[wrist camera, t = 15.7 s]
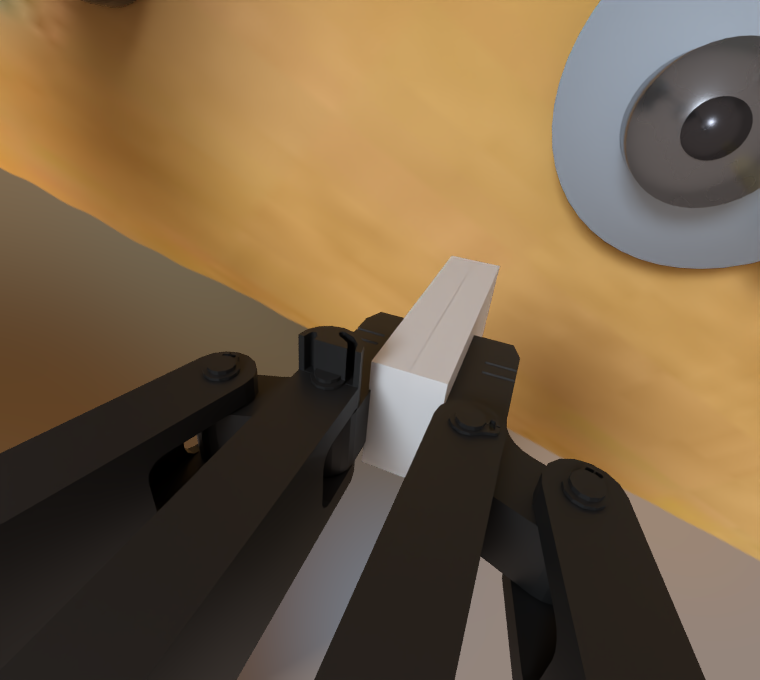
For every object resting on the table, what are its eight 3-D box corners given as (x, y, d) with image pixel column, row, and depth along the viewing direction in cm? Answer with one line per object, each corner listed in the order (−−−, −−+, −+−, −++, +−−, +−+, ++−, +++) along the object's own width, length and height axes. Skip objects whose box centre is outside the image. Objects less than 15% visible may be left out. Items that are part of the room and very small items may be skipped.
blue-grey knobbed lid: (630, 302, 35) (644, 361, 27) (501, 74, 31) (476, 68, 24) (1013, 142, 24) (1218, 165, 16) (886, -242, 20) (1077, -449, 12)
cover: (658, 216, 30) (672, 237, 25) (594, 116, 28) (597, 120, 24) (806, 132, 25) (852, 139, 21) (737, 8, 24) (771, -10, 20)
